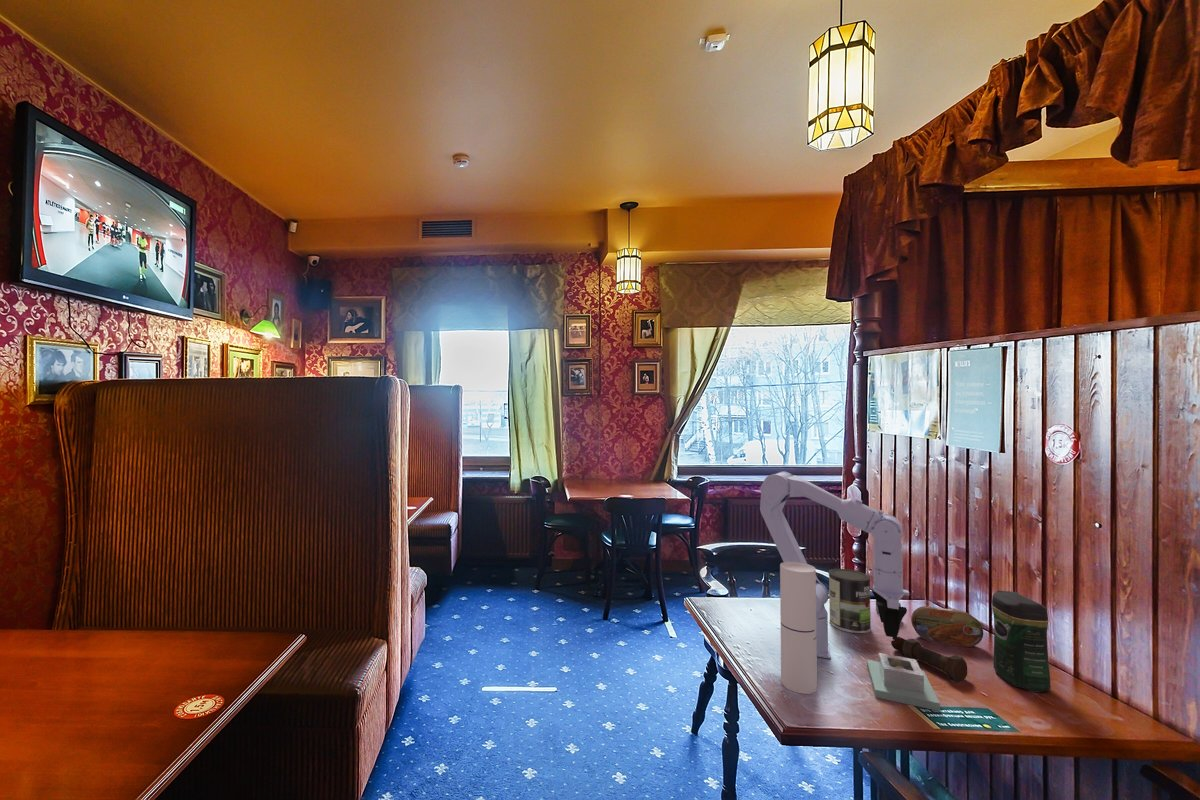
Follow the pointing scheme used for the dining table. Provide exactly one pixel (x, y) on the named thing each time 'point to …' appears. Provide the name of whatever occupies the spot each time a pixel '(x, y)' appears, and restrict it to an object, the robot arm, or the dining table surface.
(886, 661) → the grey boxy piece
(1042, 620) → the coffee jar
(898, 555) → the robot arm
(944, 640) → the tin
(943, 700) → the dining table surface
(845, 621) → the coffee can
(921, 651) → the bolt
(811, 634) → the cylindrical container
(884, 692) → the plate
